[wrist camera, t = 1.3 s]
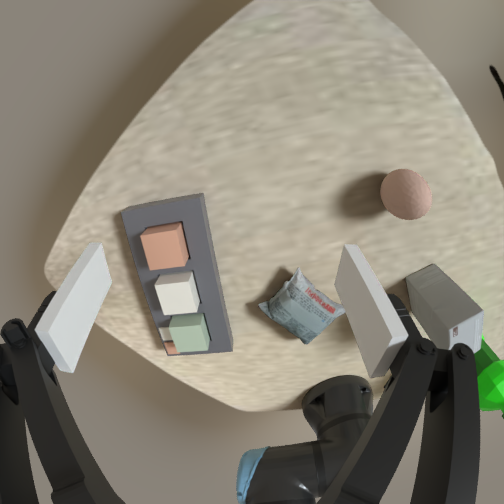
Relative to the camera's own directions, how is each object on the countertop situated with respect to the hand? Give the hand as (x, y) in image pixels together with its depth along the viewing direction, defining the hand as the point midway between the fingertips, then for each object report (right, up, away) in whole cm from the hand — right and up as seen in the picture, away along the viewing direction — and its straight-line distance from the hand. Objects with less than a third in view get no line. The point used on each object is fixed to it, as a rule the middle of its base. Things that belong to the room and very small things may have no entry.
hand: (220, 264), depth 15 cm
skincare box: (+31, -5, +30) cm, 44 cm away
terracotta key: (-10, +2, +24) cm, 26 cm away
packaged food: (+10, -7, +30) cm, 32 cm away
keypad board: (-9, -3, +28) cm, 30 cm away
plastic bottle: (+46, -17, +35) cm, 61 cm away
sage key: (-8, -10, +29) cm, 32 cm away
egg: (+22, +10, +23) cm, 33 cm away
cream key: (-9, -4, +27) cm, 28 cm away
